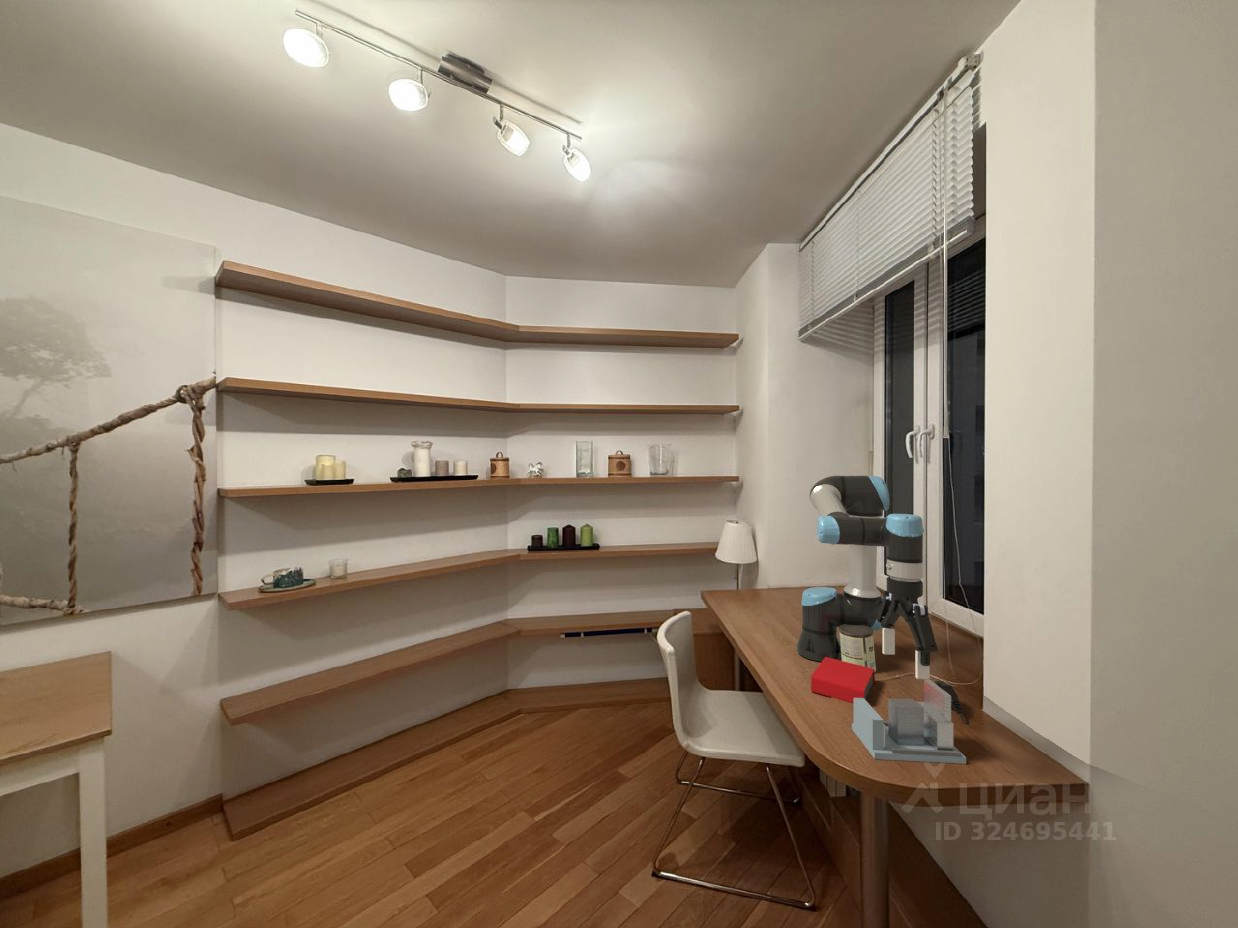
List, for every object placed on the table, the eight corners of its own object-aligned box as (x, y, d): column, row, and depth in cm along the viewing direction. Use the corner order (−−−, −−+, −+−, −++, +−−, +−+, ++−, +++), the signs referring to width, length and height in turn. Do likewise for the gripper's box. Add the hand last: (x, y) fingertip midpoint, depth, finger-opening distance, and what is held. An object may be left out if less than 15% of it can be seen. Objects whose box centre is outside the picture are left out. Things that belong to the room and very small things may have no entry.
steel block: (888, 734, 111) (888, 698, 111) (913, 735, 111) (913, 698, 111) (897, 744, 107) (898, 706, 107) (923, 745, 107) (923, 707, 107)
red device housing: (825, 671, 149) (825, 656, 149) (874, 684, 141) (874, 668, 141) (811, 692, 135) (811, 675, 135) (864, 708, 127) (864, 690, 127)
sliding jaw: (913, 727, 114) (913, 677, 114) (927, 727, 113) (927, 678, 113) (937, 751, 104) (937, 696, 104) (953, 751, 104) (953, 697, 104)
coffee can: (843, 661, 158) (840, 621, 159) (877, 667, 153) (873, 625, 153) (840, 674, 150) (836, 631, 150) (875, 680, 144) (872, 636, 144)
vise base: (851, 728, 116) (851, 695, 116) (933, 732, 114) (933, 699, 114) (874, 758, 104) (874, 722, 104) (966, 763, 102) (966, 726, 102)
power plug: (958, 722, 118) (931, 676, 127) (944, 734, 122) (920, 689, 132) (979, 721, 118) (951, 676, 127) (964, 734, 122) (938, 689, 132)
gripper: (862, 566, 122) (862, 644, 122) (921, 591, 98) (921, 690, 97) (890, 566, 122) (890, 645, 122) (957, 592, 97) (957, 690, 97)
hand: (904, 665), depth 110 cm, fingers open, 13 cm apart
